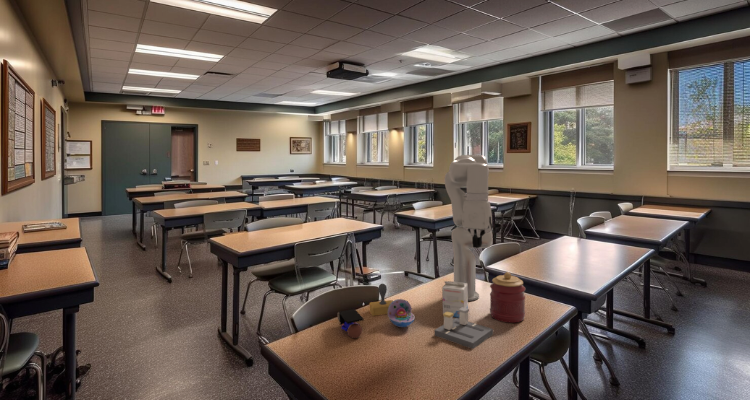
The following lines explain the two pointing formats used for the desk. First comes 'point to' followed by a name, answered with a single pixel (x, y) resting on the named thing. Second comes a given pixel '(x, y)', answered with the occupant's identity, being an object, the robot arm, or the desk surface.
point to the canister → (507, 299)
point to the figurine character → (350, 322)
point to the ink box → (454, 297)
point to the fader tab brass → (448, 320)
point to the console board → (465, 333)
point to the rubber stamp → (380, 303)
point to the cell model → (400, 313)
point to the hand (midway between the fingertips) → (477, 246)
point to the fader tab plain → (463, 315)
